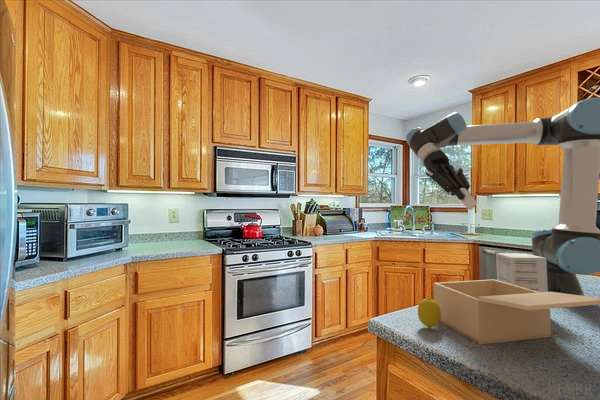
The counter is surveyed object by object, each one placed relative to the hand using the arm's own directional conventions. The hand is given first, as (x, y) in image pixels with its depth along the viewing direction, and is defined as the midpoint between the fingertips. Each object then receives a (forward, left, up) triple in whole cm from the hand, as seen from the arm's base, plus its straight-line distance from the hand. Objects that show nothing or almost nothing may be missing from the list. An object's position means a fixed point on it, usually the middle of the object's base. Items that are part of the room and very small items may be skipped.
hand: (472, 206), depth 85 cm
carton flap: (+3, +16, -22) cm, 27 cm away
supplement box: (-17, -1, -32) cm, 36 cm away
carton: (+3, +8, -32) cm, 33 cm away
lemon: (+18, +5, -32) cm, 37 cm away
